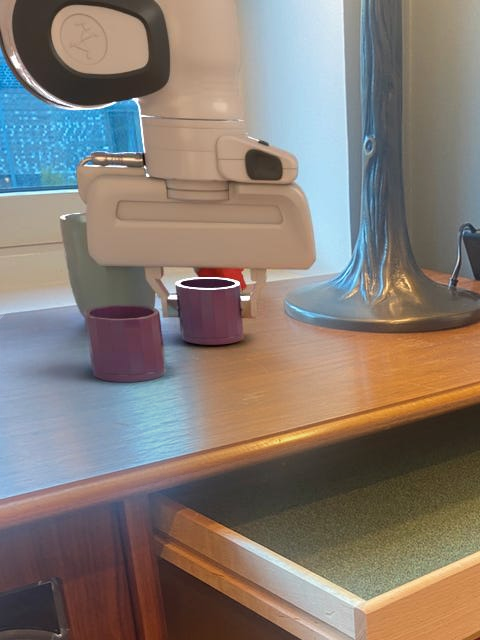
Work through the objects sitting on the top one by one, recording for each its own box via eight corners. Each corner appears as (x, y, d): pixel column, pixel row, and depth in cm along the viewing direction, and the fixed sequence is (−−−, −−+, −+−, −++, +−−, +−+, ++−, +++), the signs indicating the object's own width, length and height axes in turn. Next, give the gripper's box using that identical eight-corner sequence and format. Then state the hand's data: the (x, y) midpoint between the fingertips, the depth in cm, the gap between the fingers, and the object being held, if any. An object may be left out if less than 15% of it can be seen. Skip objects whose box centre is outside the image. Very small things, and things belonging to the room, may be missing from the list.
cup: (176, 326, 96) (164, 218, 91) (113, 339, 91) (97, 225, 86) (124, 314, 100) (110, 210, 95) (60, 326, 94) (41, 216, 89)
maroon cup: (88, 382, 78) (77, 319, 76) (100, 363, 83) (91, 304, 81) (161, 382, 79) (154, 320, 77) (169, 364, 84) (162, 305, 82)
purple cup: (178, 344, 89) (172, 288, 87) (184, 330, 94) (179, 277, 92) (242, 345, 90) (238, 289, 88) (245, 330, 95) (241, 278, 93)
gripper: (64, 152, 80) (91, 323, 87) (312, 162, 83) (318, 325, 90) (79, 147, 85) (103, 308, 92) (311, 156, 89) (317, 311, 96)
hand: (211, 317), depth 91 cm, fingers closed on purple cup, 6 cm apart
